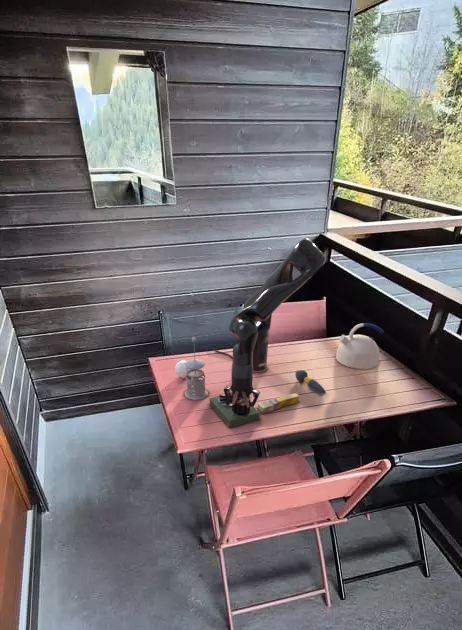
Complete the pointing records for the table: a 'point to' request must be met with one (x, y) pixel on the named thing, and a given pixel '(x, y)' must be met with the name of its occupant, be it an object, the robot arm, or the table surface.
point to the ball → (181, 369)
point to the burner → (224, 401)
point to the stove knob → (240, 407)
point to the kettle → (358, 349)
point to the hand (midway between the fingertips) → (241, 412)
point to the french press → (195, 378)
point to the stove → (232, 417)
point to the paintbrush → (309, 381)
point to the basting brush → (278, 402)
